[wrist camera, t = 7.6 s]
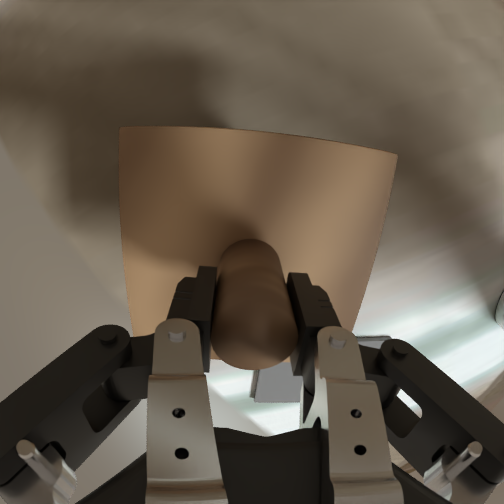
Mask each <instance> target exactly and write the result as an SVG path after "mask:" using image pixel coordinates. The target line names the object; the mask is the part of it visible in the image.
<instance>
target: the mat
mask: <svg viewBox="0 0 504 504" xmlns="http://www.w3.org/2000/svg"><path fill="white" fill-rule="evenodd" d="M388 339H392V338H391V337H374V338H357V340H358V344H360V345H363V346H368V347H373V348H378V349H380V347H381V345H382V343H383V342H384V341H386V340H388ZM302 384H303V377H302V376H293V373H292V367H291V362H281V363H279V364H277V365H275V366H273V367H270V368H266V369H261V370H259V374H258V379H257V385H256V391H255V397H254V402H267V403H287V402H300V393H301V387H302Z"/></svg>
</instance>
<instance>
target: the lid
mask: <svg viewBox="0 0 504 504" xmlns="http://www.w3.org/2000/svg"><path fill="white" fill-rule="evenodd" d="M397 158H398V155H397V154H394V153H391V152H387V151H383V150H378V149H373V148H369V147H364V146H359V145H353V144H348V143H343V142H337V141H331V140H325V139H318V138H312V137H305V136H298V135H290V134H282V133H273V132H264V131H254V130H242V129H229V128H213V127H191V126H126V127H119V205H120V224H121V239H122V251H123V262H124V272H125V280H126V289H127V296H128V304H129V311H130V317H131V324H132V330H133V335H134V337H137V336H145V335H149V334H152V333H155V329H156V327H157V326H158V325H159V324H160V323H161V322H163V321H165V320H166V318H167V315H168V312H169V309H170V306H171V303H172V299H173V296H174V293H175V290H176V287H177V284H178V282H180V281H181V280H182V279H183V278H184V277H196V276H197V272H198V268H199V266H212V267H217V286H216V294H215V303H214V311H213V320H212V329H211V345H212V348H211V358H210V359H217V360H222V361H224V362H225V363H227V364H229V365H231V366H233V367H236V368H240V369H245V370H261V369H266V368H270V367H273V366H275V365H277V364H279V363H281V362H290V357H289V356H290V355H291V354H292V352H293V351H294V349H295V347H296V345H297V342H298V330H297V326H296V322H295V318H294V314H293V310H292V306H291V302H290V298H289V294H288V290H287V286H286V282H287V277H288V273H289V272H299V273H307V274H308V276H309V278H310V281H311V283H312V285H319V286H320V287H321V288H322V289H323V290H325V291H326V292H327V294H328V296H329V299H330V302H331V303H332V305H333V308H334V310H335V312H336V315H337V317H338V319H339V321H340V324H341V326H342V328H345V329H347V330H349V331H350V332H352V330H353V327H354V324H355V321H356V318H357V315H358V312H359V309H360V306H361V303H362V300H363V297H364V294H365V291H366V287H367V284H368V281H369V277H370V274H371V270H372V267H373V263H374V260H375V256H376V253H377V249H378V245H379V241H380V237H381V233H382V229H383V225H384V221H385V217H386V212H387V208H388V203H389V199H390V194H391V189H392V184H393V179H394V174H395V169H396V163H397Z"/></svg>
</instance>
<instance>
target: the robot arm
mask: <svg viewBox="0 0 504 504" xmlns="http://www.w3.org/2000/svg"><path fill="white" fill-rule="evenodd" d="M216 286H217V267H212V266H199V268H198V272H197V276H196V277H184V278H183V279H182V280H181V281H180V282H178V284H177V287H176V290H175V293H174V296H173V299H172V303H171V306H170V309H169V312H168V315H167V318H166V320H165V321H163V322H161V323H160V324H159V325H158V326H157V327H156V329H155V333H152V334H149V335H145V336H137V337H130V335H129V333H128V331H127V330H126V329H124V328H123V327H121V326H118V325H103V326H100V327H98V328H96V329H94V330H93V331H92V332H90V333H89V334H88V335H86V336H85V337H84V338H82V339H81V340H80V341H78V342H77V343H75V344H74V345H73V346H72V347H70V348H69V349H68V350H66V351H65V352H64V353H63V354H61V355H60V356H59V357H57V358H56V359H55V360H54V361H52V362H51V363H50V364H48V365H47V366H46V367H45V368H43V369H42V370H41V371H39V372H38V373H37V374H36V375H34V376H33V377H32V378H30V379H29V380H28V381H27V382H25V383H24V384H23V385H22V386H20V387H19V388H18V389H17V390H15V391H14V392H13V393H12V394H10V395H9V396H8V397H7V398H6V399H5V400H3V401H2V402H1V403H0V496H1V497H2V499H3V500H4V501H5V502H6V503H7V504H69V500H70V497H71V496H72V495H73V493H74V491H75V489H76V485H77V483H76V482H77V480H76V476H75V473H74V471H75V470H76V469H77V468H78V467H79V466H80V465H81V464H82V463H83V462H84V461H85V460H86V459H87V458H88V457H89V456H90V455H91V454H92V453H93V452H94V451H95V449H96V448H97V447H98V446H99V445H100V444H101V443H102V442H103V441H104V440H105V439H106V438H107V436H109V435H110V434H111V433H112V432H113V430H114V429H115V428H116V427H117V426H118V425H119V424H120V423H121V422H122V421H123V420H124V419H125V418H126V417H127V415H128V414H129V413H130V412H131V411H132V410H133V409H134V408H135V407H136V406H137V405H138V404H139V402H140V401H141V399H146V398H147V451H146V452H145V453H144V454H143V455H141V456H140V457H139V458H138V459H136V460H135V461H134V462H132V463H131V464H130V465H128V466H127V467H126V468H124V469H123V470H122V471H121V472H119V473H118V474H116V475H115V476H114V477H112V478H111V479H110V480H108V481H107V482H105V483H104V484H103V485H101V486H100V487H98V488H97V489H96V490H94V491H93V492H91V493H90V494H88V495H87V496H86V497H84V498H83V499H81V500H80V501H78V502H77V503H75V504H484V503H485V501H486V500H487V499H488V498H489V496H490V495H491V493H492V492H493V490H494V489H495V488H496V487H497V486H498V485H499V484H500V483H502V482H503V481H504V424H503V423H502V422H501V421H500V420H499V419H498V418H496V417H495V416H494V415H493V414H492V413H491V412H490V411H488V410H487V409H486V408H485V407H484V406H483V405H482V404H480V403H479V402H478V401H477V400H476V399H475V398H473V397H472V396H471V395H470V394H469V393H468V392H466V391H465V390H464V389H463V388H462V387H461V386H459V385H458V384H457V383H456V382H455V381H453V380H452V379H451V378H450V377H449V376H448V375H446V374H445V373H444V372H443V371H442V370H440V369H439V368H438V367H437V366H436V365H434V364H433V363H432V362H431V361H430V360H428V359H427V358H426V357H425V356H424V355H422V354H421V353H420V352H419V351H418V350H416V349H415V348H414V347H413V346H411V345H410V344H409V343H407V342H405V341H403V340H399V339H388V340H386V341H384V342H383V343H382V345H381V347H380V349H378V348H373V347H368V346H363V345H360V344H358V340H357V338H356V336H355V335H354V334H353V333H352V332H350V331H349V330H347V329H345V328H342V326H341V324H340V321H339V319H338V317H337V315H336V312H335V310H334V308H333V305H332V303H331V302H330V299H329V296H328V294H327V292H326V291H325V290H323V289H322V288H321V287H320V286H319V285H312V283H311V281H310V278H309V276H308V274H307V273H299V272H289V273H288V277H287V282H286V286H287V290H288V294H289V298H290V302H291V306H292V310H293V314H294V318H295V322H296V326H297V330H298V342H297V345H296V347H295V349H294V351H293V352H292V354H291V355H290V356H289V357H290V362H291V367H292V373H293V376H302V377H303V384H302V387H301V393H300V426H299V429H298V430H294V431H290V432H286V433H282V434H278V435H274V436H269V437H264V436H259V435H254V434H249V433H246V432H241V431H237V430H233V429H229V428H218V427H213V422H212V416H211V409H210V403H209V395H208V388H207V380H206V375H205V374H204V372H207V373H209V369H210V358H211V348H212V345H211V329H212V320H213V311H214V303H215V294H216ZM495 317H496V322H497V323H498V325H499V326H500V327H501V328H502V329H503V330H504V292H503V294H502V296H501V298H500V300H499V303H498V305H497V309H496V315H495ZM400 389H402V390H403V391H404V392H405V393H406V394H407V395H408V396H410V397H411V398H412V399H413V400H414V401H415V402H416V403H417V404H418V405H419V406H420V407H421V409H422V417H421V418H419V417H418V416H417V415H416V414H415V413H414V412H413V411H412V410H411V409H410V408H409V407H408V406H407V405H406V404H405V403H404V402H403V401H401V400H400V399H399V398H398V397H397V394H398V392H399V391H400ZM388 441H389V442H390V444H391V445H392V446H393V447H394V448H395V449H396V450H397V451H398V452H399V453H400V454H401V455H402V456H403V457H404V458H405V459H406V460H407V461H408V462H409V463H410V464H411V465H412V466H413V467H414V468H415V469H416V470H417V472H419V473H420V475H421V476H422V477H423V478H424V484H422V483H421V482H419V481H417V480H416V479H415V478H413V477H412V476H410V475H409V474H408V473H406V472H405V471H403V470H402V469H401V468H399V467H398V466H396V465H395V464H394V463H392V462H391V457H390V451H389V445H388Z"/></svg>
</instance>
